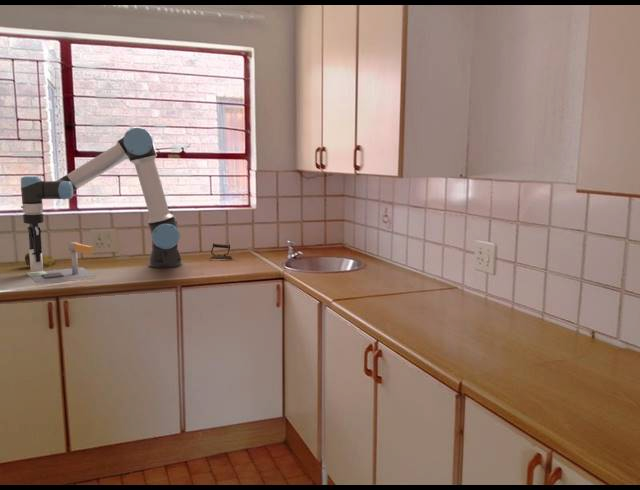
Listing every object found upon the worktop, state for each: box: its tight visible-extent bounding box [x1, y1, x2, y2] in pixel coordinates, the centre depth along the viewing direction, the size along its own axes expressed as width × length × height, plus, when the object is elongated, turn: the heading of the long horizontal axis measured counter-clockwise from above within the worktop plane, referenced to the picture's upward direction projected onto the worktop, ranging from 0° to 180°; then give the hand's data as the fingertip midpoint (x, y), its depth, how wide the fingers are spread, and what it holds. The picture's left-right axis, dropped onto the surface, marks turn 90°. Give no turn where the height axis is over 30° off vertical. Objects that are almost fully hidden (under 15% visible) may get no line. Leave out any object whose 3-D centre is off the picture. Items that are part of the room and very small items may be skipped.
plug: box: [28, 249, 44, 272], centre depth 237 cm, size 5×5×9 cm
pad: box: [26, 270, 47, 278], centre depth 238 cm, size 7×7×1 cm
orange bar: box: [68, 241, 94, 255], centre depth 234 cm, size 16×4×3 cm, turn 51°
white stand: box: [25, 251, 96, 285], centre depth 237 cm, size 23×21×11 cm
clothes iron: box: [209, 243, 233, 260], centre depth 282 cm, size 7×11×10 cm, turn 89°
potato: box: [24, 252, 56, 268], centre depth 253 cm, size 8×13×8 cm, turn 129°
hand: (36, 268), depth 237 cm, fingers closed on plug, 5 cm apart
